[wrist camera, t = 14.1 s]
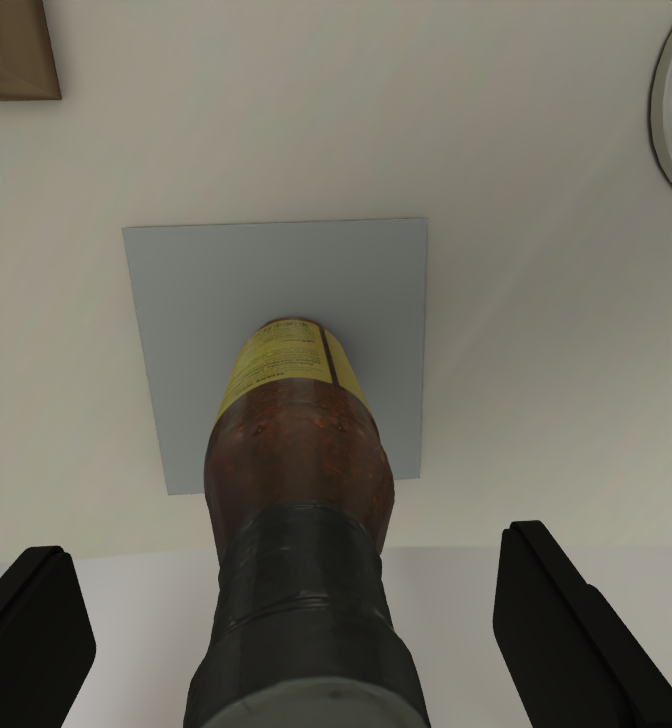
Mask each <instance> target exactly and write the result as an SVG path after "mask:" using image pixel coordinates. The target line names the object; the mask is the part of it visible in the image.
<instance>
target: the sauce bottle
mask: <svg viewBox="0 0 672 728" xmlns="http://www.w3.org/2000/svg"><path fill="white" fill-rule="evenodd" d="M203 476H204V491H205V498H206V502H207V505H208V509H209V513H210V518H211V523H212V528H213V533H214V539H215V544H216V549H217V555H218V560H219V566H220V571H219V575H218V581H219V588H220V592H219V596H218V603H217V607H216V611H215V615H214V624H213V628H212V634H211V640H210V645H209V647H208V651H207V653H206V656H205V658H204V659H203V661H202V662H201V664H200V665H199V667H198V669H197V671H196V672H195V674H194V676H193V678H192V680H191V683H190V688H189V691H188V697H187V705H186V711H185V716H184V721H183V728H431V724H430V721H429V718H428V714H427V710H426V705H425V700H424V696H423V692H422V688H421V684H420V680H419V677H418V674H417V670H416V667H415V664H414V662H413V659H412V655H411V653H410V651H409V650H408V648H407V647H406V645H405V644H404V642H403V641H402V640H401V639H400V638H399V637H398V635H397V634H396V633H395V631H394V628H393V624H392V621H391V616H390V611H389V608H388V605H387V601H386V596H385V593H384V587H383V583H382V580H381V577H382V560H381V558H380V556H379V555H380V554H381V552H382V549H383V545H384V541H385V537H386V533H387V529H388V524H389V521H390V517H391V513H392V509H393V505H394V502H395V501H394V496H395V491H394V481H393V474H392V471H391V467H390V465H389V462H388V458H387V454H386V452H385V451H384V449H383V446H382V445H381V442H380V435H379V431H378V427H377V425H376V422H375V420H374V418H373V415H372V413H371V411H370V409H369V406H368V404H367V402H366V399H365V397H364V395H363V392H362V390H361V388H360V386H359V383H358V381H357V379H356V376H355V374H354V372H353V370H352V367H351V365H350V363H349V360H348V358H347V356H346V353H345V351H344V349H343V347H342V346H341V344H340V343H339V342H338V340H337V339H336V338H335V337H334V336H333V335H332V334H331V333H330V332H329V331H327V330H326V329H325V328H323V327H322V326H321V325H320V324H319V323H317V322H315V321H313V320H309V319H306V318H299V317H291V318H281V319H275V320H272V321H269V322H267V323H266V324H265V325H264V326H262V327H261V328H260V329H258V330H257V331H256V332H255V333H254V334H253V335H252V336H251V337H250V338H249V339H248V340H247V342H246V343H245V344H244V346H243V347H242V349H241V350H240V352H239V354H238V357H237V360H236V362H235V365H234V368H233V371H232V373H231V376H230V380H229V383H228V386H227V389H226V391H225V394H224V397H223V400H222V402H221V405H220V408H219V411H218V414H217V417H216V420H215V423H214V426H213V429H212V432H211V435H210V438H209V441H208V445H207V450H206V454H205V461H204V474H203Z"/></svg>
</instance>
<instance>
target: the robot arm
mask: <svg viewBox="0 0 672 728" xmlns="http://www.w3.org/2000/svg"><path fill="white" fill-rule="evenodd" d="M651 127H652V135H653V143H654V147H655V150H656V153H657V156H658V159H659V162H660V165H661V166H662V168H663V170H664V172H665V173H666V175H667V177H668V178H669V180H670V182H671V183H672V33H671V35H670V37H669V38H668V40H667V43H666V45H665V48H664V51H663V54H662V56H661V59H660V62H659V65H658V67H657V72H656V76H655V81H654V86H653V91H652V100H651ZM493 630H494V635H495V638H496V641H497V643H498V646H499V648H500V651H501V653H502V655H503V658H504V660H505V662H506V665H507V667H508V669H509V672H510V674H511V677H512V679H513V681H514V684H515V686H516V689H517V691H518V693H519V696H520V698H521V701H522V703H523V705H524V707H525V710H526V712H527V715H528V717H529V720H530V722H531V724H532V727H533V728H672V687H671V685H670V684H669V683H668V681H667V680H666V679H665V677H664V676H663V675H662V673H661V672H660V671H659V669H658V668H657V667H656V665H655V664H654V663H653V662H652V660H651V659H650V658H649V656H648V655H647V654H646V652H645V651H644V649H643V648H642V647H641V646H640V644H639V643H638V641H637V640H636V639H635V637H634V636H633V635H632V634H631V632H630V631H629V629H628V628H627V627H626V625H625V624H624V623H623V622H622V620H621V619H620V618H619V616H618V615H617V614H616V612H615V611H614V610H613V608H612V607H611V606H610V604H609V603H608V602H607V601H606V599H605V598H604V596H603V595H602V594H601V593H600V592H599V590H598V589H597V588H595V587H594V586H592V585H590V584H587V583H586V582H585V580H584V579H583V577H582V576H581V575H580V574H579V572H578V571H577V569H576V568H575V567H574V565H573V564H572V562H571V561H570V560H569V558H568V557H567V556H566V554H565V553H564V552H563V550H562V549H561V547H560V546H559V545H558V543H557V542H556V541H555V539H554V538H553V536H552V535H551V534H550V532H549V531H548V530H547V528H546V527H545V526H544V524H543V523H542V522H541V521H539V520H533V521H514V522H512V523H511V524H510V528H509V529H504V530H503V533H502V541H501V550H500V559H499V568H498V577H497V586H496V595H495V604H494V613H493ZM95 654H96V642H95V639H94V636H93V632H92V628H91V625H90V621H89V617H88V614H87V610H86V607H85V604H84V600H83V597H82V593H81V589H80V586H79V582H78V579H77V575H76V571H75V568H74V565H73V561H72V557H71V555H70V554H69V553H66V552H64V550H63V548H62V547H60V546H41V547H30V548H27V549H26V550H25V551H24V552H23V553H22V554H21V555H20V556H19V557H18V558H17V559H16V561H15V562H14V563H13V564H12V565H11V566H10V567H9V569H8V570H7V571H6V572H5V573H4V574H3V576H2V577H1V578H0V728H61V726H62V724H63V722H64V720H65V718H66V716H67V714H68V712H69V710H70V708H71V706H72V704H73V702H74V700H75V698H76V697H77V695H78V693H79V691H80V689H81V686H82V685H83V683H84V680H85V679H86V677H87V675H88V673H89V671H90V668H91V667H92V664H93V662H94V659H95Z"/></svg>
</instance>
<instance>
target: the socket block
mask: <svg viewBox="0 0 672 728" xmlns="http://www.w3.org/2000/svg"><path fill="white" fill-rule="evenodd" d="M11 100H61V95H60V90H59V85H58V80H57V75H56V70H55V65H54V60H53V55H52V49H51V44H50V39H49V34H48V29H47V24H46V19H45V14H44V9H43V4H42V0H0V101H11Z"/></svg>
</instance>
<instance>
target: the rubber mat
mask: <svg viewBox="0 0 672 728" xmlns="http://www.w3.org/2000/svg"><path fill="white" fill-rule="evenodd" d="M427 220H428V218H412V219H382V220H352V221H322V222H293V223H263V224H233V225H204V226H174V227H144V228H122V233H123V239H124V245H125V251H126V256H127V262H128V268H129V274H130V279H131V285H132V291H133V297H134V302H135V308H136V314H137V320H138V325H139V331H140V337H141V343H142V348H143V354H144V360H145V365H146V371H147V377H148V383H149V388H150V394H151V400H152V406H153V411H154V417H155V423H156V429H157V434H158V440H159V446H160V452H161V457H162V463H163V469H164V475H165V480H166V486H167V492H168V495H181V494H196V493H205V491H204V476H203V474H204V461H205V454H206V450H207V445H208V441H209V438H210V435H211V432H212V429H213V426H214V423H215V420H216V417H217V414H218V411H219V408H220V405H221V402H222V400H223V397H224V394H225V391H226V389H227V386H228V383H229V380H230V376H231V373H232V371H233V368H234V365H235V362H236V360H237V357H238V354H239V352H240V350H241V349H242V347H243V346H244V344H245V343H246V342H247V340H248V339H249V338H250V337H251V336H252V335H253V334H254V333H255V332H256V331H257V330H258V329H260V328H261V327H262V326H264V325H265V324H266V323H267V322H269V321H272V320H275V319H281V318H291V317H299V318H306V319H309V320H313V321H315V322H317V323H319V324H320V325H321V326H322V327H323V328H325V329H326V330H327V331H329V332H330V333H331V334H332V335H333V336H334V337H335V338H336V339H337V340H338V342H339V343H340V344H341V346H342V347H343V349H344V351H345V353H346V356H347V358H348V360H349V363H350V365H351V367H352V370H353V372H354V374H355V376H356V379H357V381H358V383H359V386H360V388H361V390H362V392H363V395H364V397H365V399H366V402H367V404H368V406H369V409H370V411H371V413H372V415H373V418H374V420H375V422H376V425H377V427H378V431H379V435H380V442H381V445H382V446H383V449H384V451H385V452H386V454H387V458H388V462H389V465H390V467H391V471H392V474H393V480H399V479H413V478H420V453H421V420H422V387H423V353H424V320H425V287H426V254H427Z"/></svg>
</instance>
